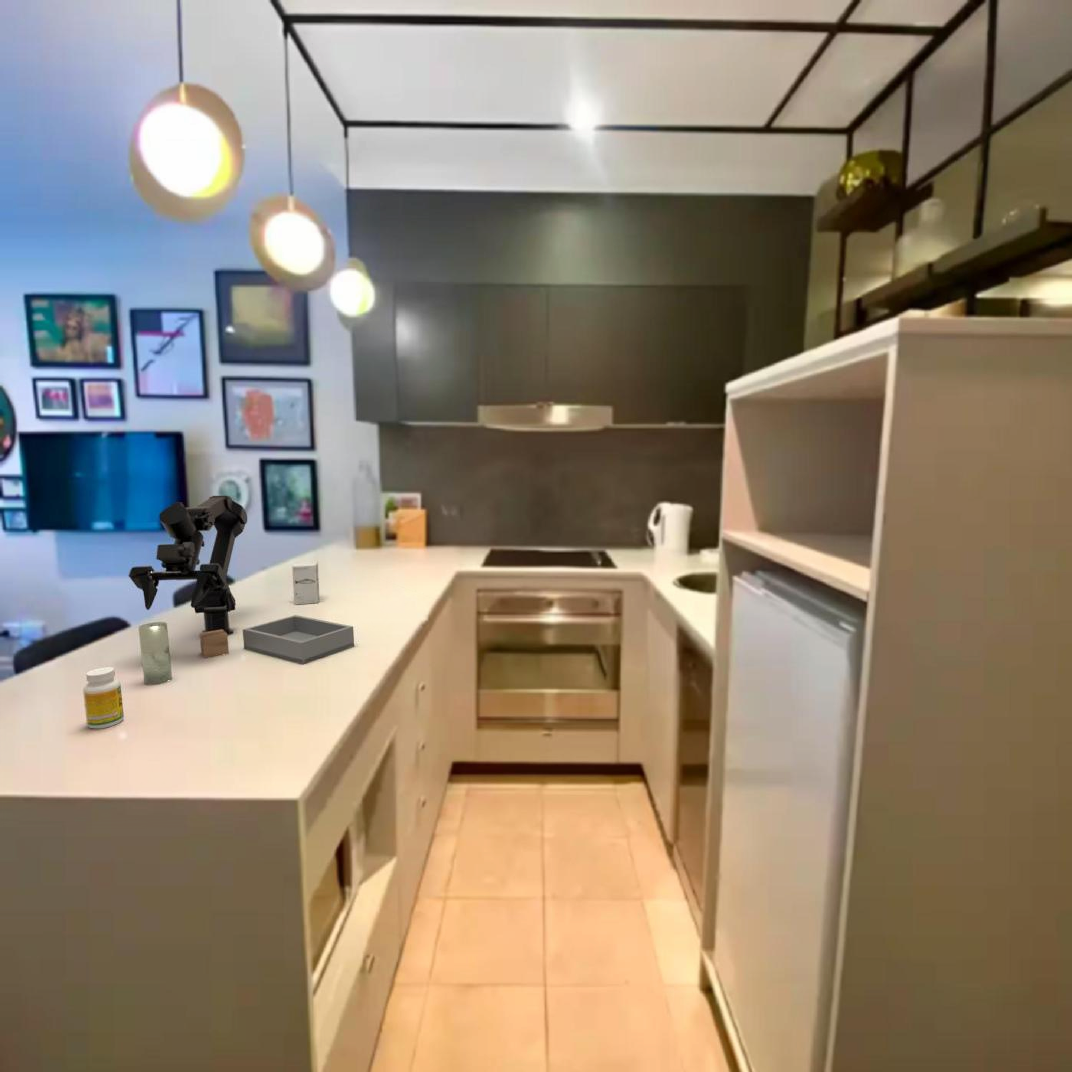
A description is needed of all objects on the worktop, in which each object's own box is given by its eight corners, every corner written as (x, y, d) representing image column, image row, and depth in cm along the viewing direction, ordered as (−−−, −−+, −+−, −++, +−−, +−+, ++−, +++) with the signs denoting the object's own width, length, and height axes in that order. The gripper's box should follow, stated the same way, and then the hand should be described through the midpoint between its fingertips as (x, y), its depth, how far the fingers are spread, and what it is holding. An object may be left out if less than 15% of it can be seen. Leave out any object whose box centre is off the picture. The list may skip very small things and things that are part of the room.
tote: (244, 649, 147) (242, 629, 146) (296, 633, 160) (295, 615, 159) (302, 664, 136) (301, 643, 135) (354, 646, 148) (353, 626, 148)
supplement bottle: (84, 723, 107) (78, 671, 105) (120, 713, 110) (114, 663, 109) (91, 732, 103) (85, 678, 102) (127, 722, 107) (122, 670, 106)
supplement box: (293, 605, 190) (291, 566, 188) (296, 600, 197) (293, 562, 196) (318, 603, 192) (316, 564, 190) (320, 598, 199) (318, 560, 197)
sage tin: (143, 680, 127) (137, 624, 126) (170, 674, 130) (165, 620, 129) (145, 686, 123) (139, 630, 122) (173, 681, 126) (168, 625, 125)
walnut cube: (201, 653, 145) (199, 633, 144) (224, 649, 148) (222, 629, 147) (205, 658, 141) (203, 638, 140) (228, 654, 144) (227, 633, 143)
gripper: (128, 531, 135) (106, 590, 125) (217, 528, 138) (203, 585, 128) (148, 560, 143) (129, 617, 134) (231, 557, 146) (219, 612, 137)
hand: (169, 607), depth 133 cm, fingers open, 9 cm apart
